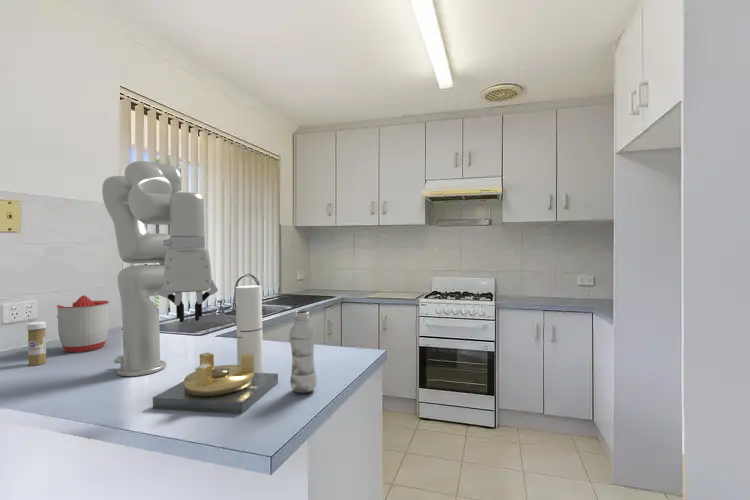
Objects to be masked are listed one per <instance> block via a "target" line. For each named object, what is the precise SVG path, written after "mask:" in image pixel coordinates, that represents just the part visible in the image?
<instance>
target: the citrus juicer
mask: <svg viewBox="0 0 750 500" xmlns="http://www.w3.org/2000/svg"><path fill="white" fill-rule="evenodd" d="M109 303H110V301H109V300H92V299H90V298H89V297H88V296H86V295H84V294H83V295H81V296H79V298H78V299H76V301H75V302H72V306H64V305H60V304H58V305H56V307H57V315H56V318H57V330H58V332H57V333H58V337H59V340H60V343H61V347H62V349H63V350H64V352H67V353H79V352H81V353H87V352H89V351H93V350H96V349H97V350H98V349H100V348H101V349H102V348H103V347H104V346H105V344H106V342H107V339H108V335H109V330H110V319H109V318H110V315H109V309H110V308H109Z"/></svg>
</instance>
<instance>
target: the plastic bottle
mask: <svg viewBox="0 0 750 500" xmlns="http://www.w3.org/2000/svg"><path fill="white" fill-rule="evenodd" d="M293 319H294V321H295V322H293V324H292V326H291V328H290V329H289V333H288V336H289V343H290V349H291V373H290V380H289V381H290V382H289V384H290V388H291V390H292V391H293V392H295V393H297V394H306V393H307V394H308V393H311V392H314V390H315V389H316V387H317V383H318V382H317V381H318V379H317V374H316V373H317V372H316V368H315V360H314V351H315V350H314V349H315V341H316V340H315V339H316V338H315V337H316V330H315V328H314V326H313V324H311V322H310V319H311V317H310V311H308V310H297V311H295V312H294V317H293Z"/></svg>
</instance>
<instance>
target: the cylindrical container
mask: <svg viewBox="0 0 750 500" xmlns="http://www.w3.org/2000/svg"><path fill="white" fill-rule="evenodd" d="M262 295H263V294H262V285H257V284H256V285H254V284H253V285H252V284H251V285H239V286H236V287H235V313H236V315H235V316H236V317H235V319H236V322H235V323H236V354H237V355H236V356H237V357H236V360H237V361H236V362H237V363H236V365H241V355H246V354H253V356H254V373H264V372H263V371H264V352H263V351H264V347H263V345H264V344H263V342H264V340H263V307H262V306H263V304H262V303H263V301H262V299H263V297H262Z"/></svg>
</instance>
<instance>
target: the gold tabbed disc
mask: <svg viewBox="0 0 750 500" xmlns="http://www.w3.org/2000/svg"><path fill="white" fill-rule="evenodd" d="M214 356H215V355H214V354H213V353H212V352H204V353H199V366H197V367H195V371H194V372H193V371H192V372H191V373H189V374H187V375H186V376H185V377H184V380H183V381H184V390H185V392H186V393H188V394H191V395H196V396H215V395H222V394H227V393H232V392H235V391H238V390H241V389H244V388H246V387H248V386H249V385H251V384H252V383H253V381H254V356H253V354H246V355H241V365H237V364H224V365H216V366H215V358H214Z"/></svg>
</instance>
